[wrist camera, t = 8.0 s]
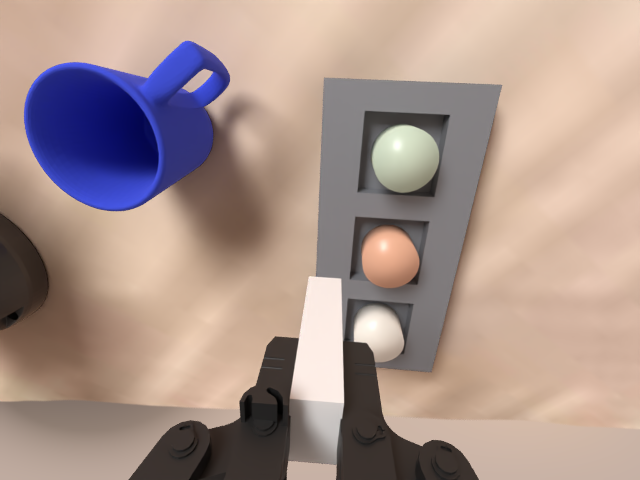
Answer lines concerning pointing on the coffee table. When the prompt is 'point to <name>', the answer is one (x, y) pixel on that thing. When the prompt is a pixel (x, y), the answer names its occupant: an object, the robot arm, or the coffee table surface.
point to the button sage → (404, 158)
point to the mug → (122, 127)
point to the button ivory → (379, 331)
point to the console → (400, 197)
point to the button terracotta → (389, 256)
